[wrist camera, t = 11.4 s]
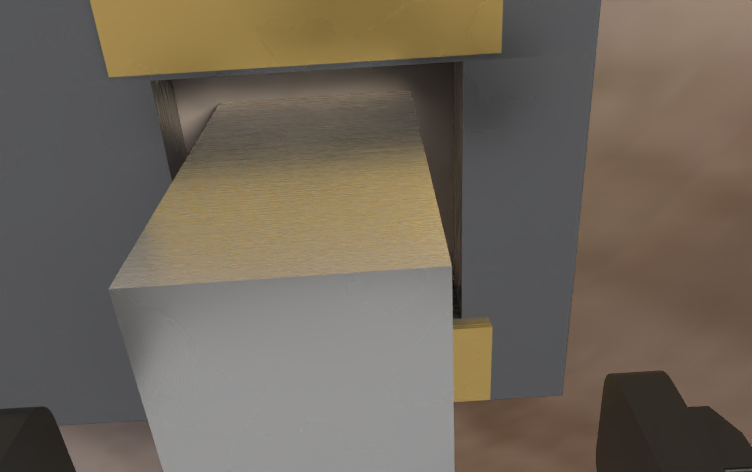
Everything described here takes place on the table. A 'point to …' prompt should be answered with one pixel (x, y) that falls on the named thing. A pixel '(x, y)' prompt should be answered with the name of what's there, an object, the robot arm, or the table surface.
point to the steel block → (296, 295)
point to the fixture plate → (167, 154)
